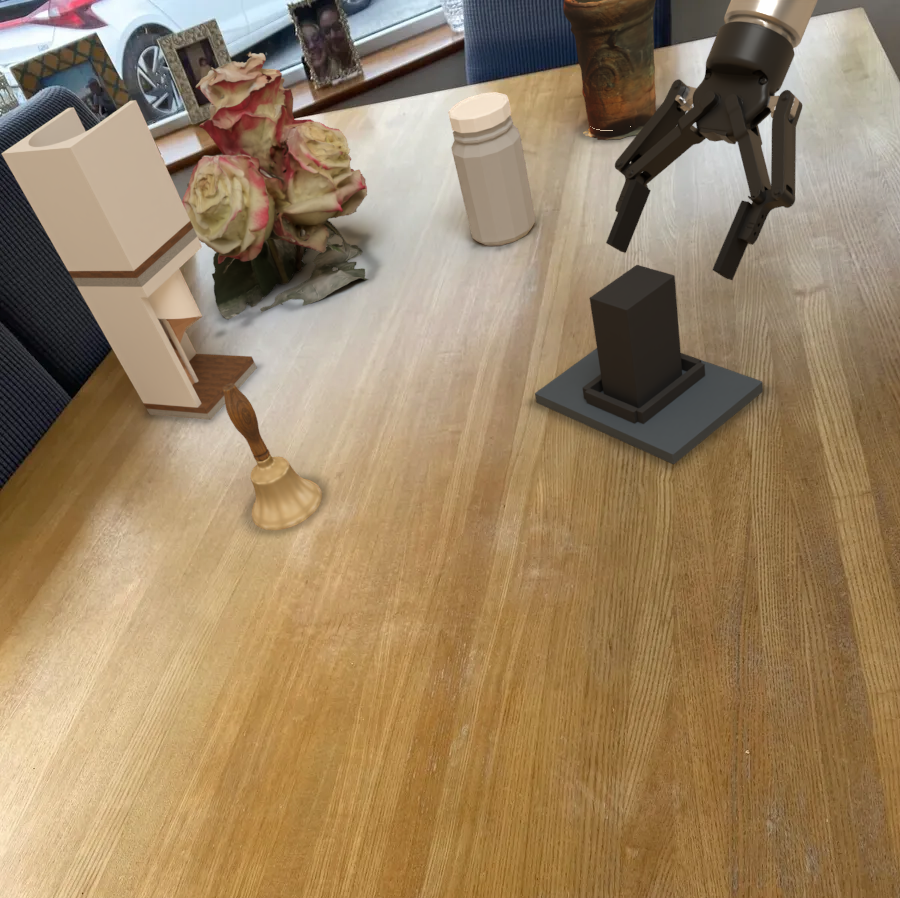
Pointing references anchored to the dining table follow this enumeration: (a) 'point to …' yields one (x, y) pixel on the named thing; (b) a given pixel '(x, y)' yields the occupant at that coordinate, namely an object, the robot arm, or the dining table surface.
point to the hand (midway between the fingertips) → (666, 261)
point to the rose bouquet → (270, 191)
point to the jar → (491, 169)
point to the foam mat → (654, 405)
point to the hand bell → (271, 473)
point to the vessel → (615, 63)
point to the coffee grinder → (126, 252)
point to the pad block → (637, 335)
